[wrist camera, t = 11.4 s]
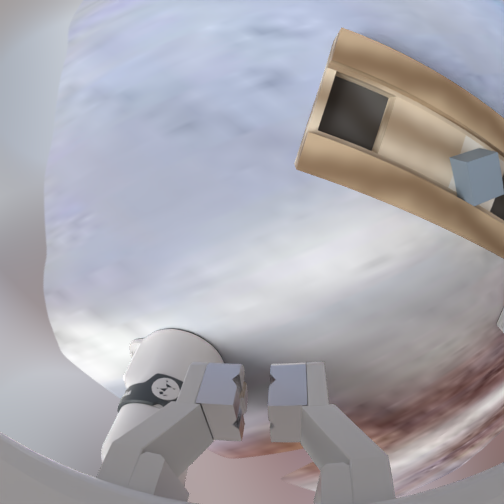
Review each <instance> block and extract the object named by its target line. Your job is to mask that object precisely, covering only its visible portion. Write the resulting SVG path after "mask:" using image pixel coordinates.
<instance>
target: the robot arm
mask: <svg viewBox="0 0 504 504" xmlns="http://www.w3.org/2000/svg"><path fill="white" fill-rule="evenodd" d="M129 349H130V354H131V361H130V363H129V365H128V367H127V369H126V372H125V374H124V376H123V380H124V382H125V386H126V388H127V390H126V392H125V394H124V395H123V396H122V398H121V400H120V404H119V406H118V415H117V417H116V419H115V421H114V423H113V425H112V427H111V429H110V431H109V433H108V435H107V437H106V439H105V442H104V443H103V445H102V450H101V458H102V465H101V467H100V470H99V472H98V474H97V476H96V478H95V477H93V476H90V475H87V474H85V473H82V472H80V471H77V470H75V469H72V468H70V467H67V466H65V465H63V464H61V463H58V462H56V461H54V460H52V459H50V458H47V457H45V456H43V455H41V454H39V453H37V452H35V451H33V450H31V449H30V448H28V447H26V446H24V445H22V444H20V443H18V442H17V441H15V440H13V439H11V438H10V437H8V436H6V435H5V434H3V433H1V432H0V504H197V503H191V502H187V501H188V497H189V493H188V491H187V490H186V489H185V479H186V474H187V470H188V467H189V466H190V465H191V464H192V463H193V462H194V461H195V460H196V459H197V458H198V457H199V456H200V455H201V454H202V453H203V452H204V451H205V450H206V449H207V448H208V447H209V446H210V445H211V443H212V442H213V440H226V441H242V437H243V431H244V425H245V423H244V418H243V415H244V414H245V413H246V411H247V403H248V391H247V383H246V382H244V376H245V371H244V366H243V365H242V364H226V363H224V362H223V360H222V358H221V356H220V354H219V353H218V352H217V350H216V349H215V348H214V347H213V346H212V345H210V344H209V343H208V342H207V341H205V340H204V339H202V338H200V337H198V336H196V335H194V334H192V333H189V332H186V331H182V330H176V329H164V330H159V331H156V332H154V333H152V334H150V335H149V336H147V337H146V338H144V339H136V340H133V341H131V343H130V345H129ZM270 380H271V385H270V386H269V392H268V405H267V407H268V417H269V421H270V436H271V442H301V445H302V446H303V448H304V449H305V450H306V452H307V453H308V455H309V456H310V457H311V459H312V460H313V461H314V463H315V464H316V466H317V467H318V468H319V470H320V476H319V480H318V485H317V489H316V494H315V498H314V504H504V462H503V463H501V464H499V465H497V466H494V467H492V468H490V469H487V470H485V471H483V472H480V473H478V474H475V475H473V476H470V477H467V478H465V479H462V480H459V481H456V482H453V483H451V484H447V485H444V486H441V487H438V488H435V489H431V490H428V491H424V492H420V493H417V494H413V495H408V496H405V497H400V498H395V492H394V486H393V480H392V474H391V468H390V463H389V457H388V455H387V454H386V453H385V452H384V451H383V450H382V449H381V448H380V447H379V446H378V445H376V444H375V443H374V442H373V441H372V440H371V439H370V438H369V437H368V436H367V435H366V434H365V433H364V432H363V431H362V430H361V429H360V428H358V427H357V426H356V425H355V424H354V423H353V422H352V421H351V420H350V419H349V418H348V417H347V416H346V415H345V414H344V413H343V412H342V411H341V410H340V409H339V408H338V407H337V406H336V405H335V404H330V405H329V398H328V388H327V379H326V371H325V363H324V362H323V361H321V362H306V363H284V364H271V369H270Z"/></svg>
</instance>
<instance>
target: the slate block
mask: <svg viewBox="0 0 504 504" xmlns="http://www.w3.org/2000/svg"><path fill="white" fill-rule="evenodd" d="M449 158H450V163H451V167H452V172H453V176H454V181H455V186H456V192H457V197H458V198H460V199H462V200H464V201H466V202H467V203H469V204H471V205H473V206H476V205H479V204H481V203H484V202H486V201H489V200H491V199H494V198H496V197H498V196H501V195H503V194H504V189H503V181H502V174H501V168H500V162H499V156H498V152H495V151H491V150H486V149H482V148H477V149H474V150H471V151H468V152H465V153H462V154H459V155H455V156H452V157H449Z"/></svg>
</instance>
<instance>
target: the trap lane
mask: <svg viewBox="0 0 504 504" xmlns="http://www.w3.org/2000/svg"><path fill="white" fill-rule="evenodd" d="M477 148H482V149H486V150H491V151H495V152H498V156H499V162H500V168H501V174H502V181H503V189H504V118H503V117H501V116H500V115H499V114H498V113H496V112H495V111H494V110H493V109H491V108H490V107H489V106H487V105H486V104H485V103H483V102H482V101H480V100H479V99H478V98H476V97H475V96H473V95H472V94H470V93H469V92H468V91H466V90H465V89H463V88H462V87H460V86H458V85H457V84H455V83H454V82H452V81H451V80H449V79H447V78H446V77H444V76H443V75H441V74H439V73H437V72H436V71H434V70H432V69H431V68H429V67H427V66H425V65H423V64H422V63H420V62H418V61H416V60H414V59H412V58H410V57H408V56H406V55H404V54H402V53H400V52H398V51H396V50H394V49H392V48H390V47H388V46H386V45H383V44H381V43H379V42H377V41H374V40H372V39H370V38H367V37H365V36H362V35H360V34H357V33H355V32H352V31H350V30H347V29H344V28H341V29H340V31H339V33H338V34H337V36H336V38H335V39H334V42H333V45H332V48H331V51H330V55H329V58H328V61H327V64H326V67H325V70H324V74H323V77H322V80H321V83H320V86H319V89H318V92H317V95H316V99H315V102H314V105H313V108H312V111H311V114H310V117H309V120H308V123H307V126H306V130H305V133H304V136H303V139H302V142H301V145H300V148H299V151H298V154H297V157H296V160H295V163H294V164H295V167H296V169H297V170H300V171H303V172H305V173H308V174H311V175H314V176H317V177H320V178H323V179H326V180H328V181H331V182H334V183H337V184H339V185H342V186H345V187H348V188H350V189H353V190H355V191H358V192H361V193H363V194H366V195H368V196H371V197H373V198H376V199H378V200H381V201H383V202H386V203H388V204H391V205H393V206H395V207H398V208H400V209H402V210H405V211H407V212H409V213H412V214H414V215H416V216H419V217H421V218H423V219H425V220H427V221H430V222H432V223H434V224H436V225H438V226H440V227H443V228H445V229H447V230H449V231H451V232H453V233H455V234H457V235H459V236H461V237H463V238H465V239H467V240H469V241H471V242H473V243H475V244H477V245H479V246H481V247H483V248H485V249H487V250H489V251H491V252H492V253H494V254H496V255H498V256H500V257H502V258H503V259H504V194H503V195H501V196H498V197H496V198H494V199H491V200H489V201H486V202H484V203H481V204H479V205H476V206H473V205H471V204H469V203H467V202H466V201H464V200H462V199H460V198H458V197H457V192H456V186H455V181H454V176H453V172H452V167H451V163H450V158H449V157H452V156H455V155H459V154H462V153H465V152H468V151H471V150H474V149H477Z"/></svg>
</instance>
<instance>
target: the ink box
mask: <svg viewBox="0 0 504 504" xmlns="http://www.w3.org/2000/svg"><path fill="white" fill-rule="evenodd" d="M497 326H498V327H499V328H500V329H501V331H502V332H503V333H504V308H503V311H502V313H501V315H500V318H499V320H498V322H497Z"/></svg>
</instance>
